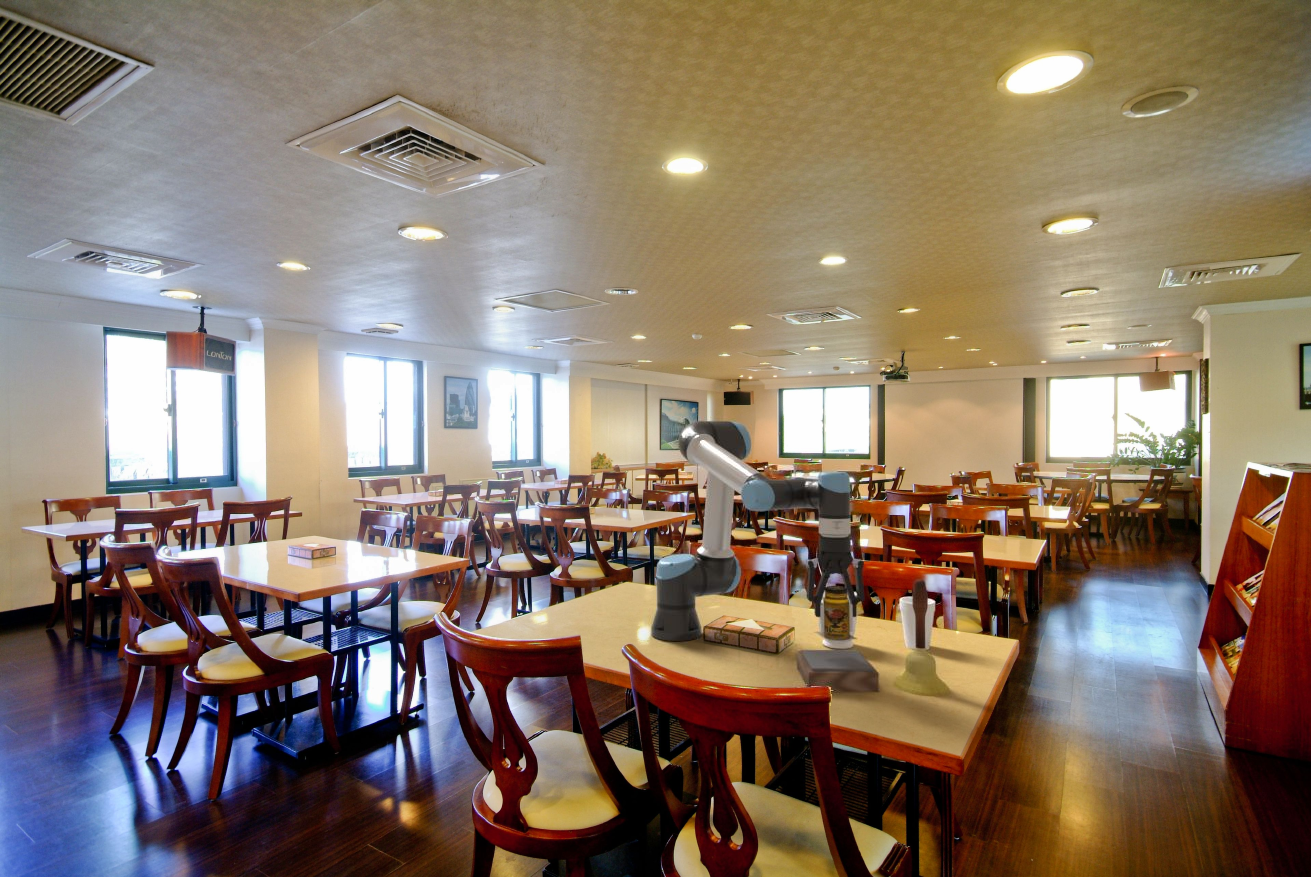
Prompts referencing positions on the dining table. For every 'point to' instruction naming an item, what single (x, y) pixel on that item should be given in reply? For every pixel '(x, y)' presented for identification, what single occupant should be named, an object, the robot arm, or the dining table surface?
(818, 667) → the stand
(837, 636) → the condiment
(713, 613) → the dining table surface
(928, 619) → the foam cup
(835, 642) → the jar
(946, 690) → the handbell
